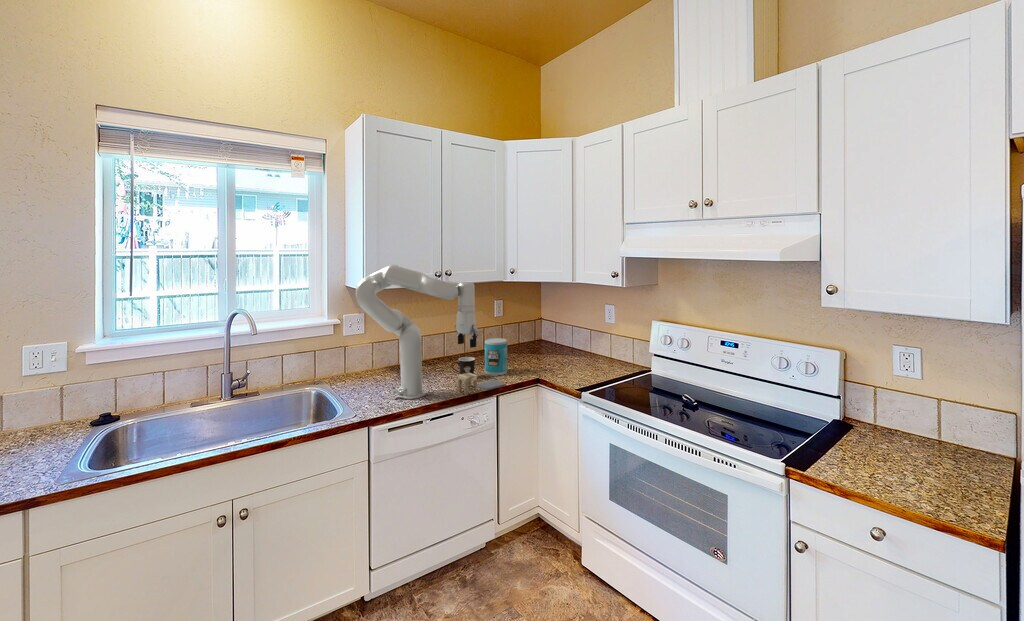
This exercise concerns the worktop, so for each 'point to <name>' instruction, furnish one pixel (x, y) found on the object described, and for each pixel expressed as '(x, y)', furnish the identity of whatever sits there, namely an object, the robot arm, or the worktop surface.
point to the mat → (491, 384)
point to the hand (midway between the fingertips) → (466, 345)
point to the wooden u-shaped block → (467, 382)
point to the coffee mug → (465, 365)
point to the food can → (495, 356)
